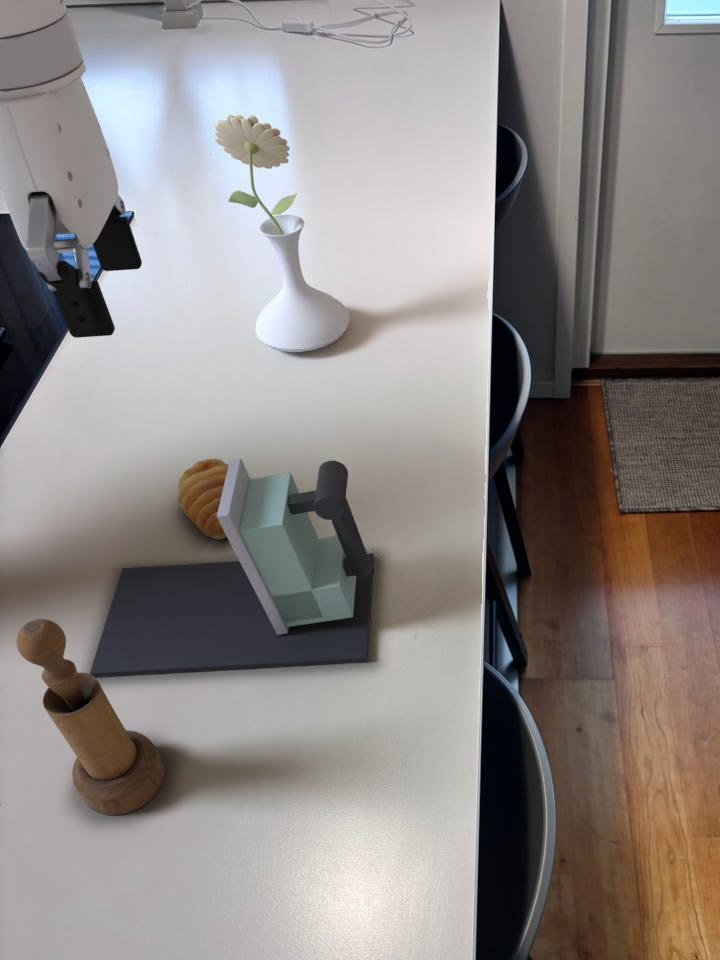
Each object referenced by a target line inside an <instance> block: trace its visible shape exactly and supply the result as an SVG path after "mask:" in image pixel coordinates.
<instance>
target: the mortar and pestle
mask: <svg viewBox="0 0 720 960" xmlns="http://www.w3.org/2000/svg"><path fill="white" fill-rule="evenodd" d="M15 642H16V648H17V651H18V653H19V654H20V656H21V657H22V659H24V660H26V661H27V662H28V663H31V664H34V665H36V666H39V667H41V668H43V671H42V673H41V679H42V681H43V683H44V684H45V685H46V686H47V687H48V688H47V689H46V691H45V692H44V694H43V698H42V706H43V708H44V710H45V711H46V713H47V714H48V716H49V717H50V719H51V721H53V723H54V725H55V726H56V728H57V729H58V730H59V732H60V733H61V735H62V737H63V738H64V740H65V741H66V743H67V744H68V745H69V747H70V748H71V750H72V752H73V753H74V755H75V756H76V759H75V761H74V763H73V767H72V772H71V773H72V782H73V785H74V787H75V789H76V791H77V792H78V794H79V795H80V796H81V798H82V800H83V801H84V803H85V804H86V805H87V806H88V807H89V808H90V809H91V810H92V811H94V812H96V813H97V814H101V815H105V816H119V815H124V814H125V815H126V814H128V813H131V812H135V811H136V810H138V809H140V808H141V807H143V806H144V805H146V804H147V803H149V802H150V801H151V800H152V799H153V798H154V797H155V795H156V794H157V793H158V791H159V790H160V788H161V786H162V785H163V782H164V779H165V764H164V761H163V758H162V757H161V755H160V753H159V752H158V750H157V748H156V746H155V745H154V743H153V742H152V741H151V740H150V738H149V737H148V736H146V735H144V734H142V733H141V732H138V731H135V730H129V729H127V730H126V728H125V727H124V725H123V723H122V721H121V719H120V718H119V717H118V713H117V712H116V711H115V709H114V708H113V706H112V704H111V702H110V700H109V698H108V696H107V694H106V692H105V691H104V689H103V687H102V686H101V684H100V682H99V680H98V679H97V677H94V676H93V675H91V674H90V673H88V672H78V670H77V666H76V664H75V663H74V662H73V660H70V659H68V658H64V656H65V651H66V645H67V637H66V634H65V631H64V629H62V627H61V626H60V625H59V624H58V623H57V622H55V621H53V620H51V619H47V618H35V619H32V620H29V621H27V622H26V623H24V624H23V625H22V626H21V627H20V628H19V630H18V632H17V634H16V641H15Z"/></svg>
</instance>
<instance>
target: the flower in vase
mask: <svg viewBox="0 0 720 960" xmlns="http://www.w3.org/2000/svg"><path fill="white" fill-rule="evenodd" d="M225 118H226V119H224V120H222V119H219V120H217V124H214V127H213V128H214V129H215V130H214V135H215V136H216V137H214V141H215V143H217V145H220V146H221V147H222V150H223V151H224V152H225V153H227V154H230V157H231V158H233V159H234V160H236V161H237V160H238V161H240V162H241V163H242V164H244V165H248V166H249V177H250V178H249V180H250V187H251V191H252V194H253V195H252V194H249V193H247V192H245V191H242V190H235V191H234V192H232V193H231V194H230V196H229V198H228V201H227V202H228V203H234V204H239V205H242V206H245V207H248V208H252V209H255V208H256V207H257V205H258V204H259V205H260V207H261V208H262V210H263V211H264V212H265V213H266V214H267V216H268V218H267V219H265V220H264V221H263V222H261V223H260V225H259V228H258V229H259V231H260V233H261V234H262V235H263V236H264V237H266V239H268V240H269V242H270V243H271V245H272V247H273V248H274V251H275V255H276V257H277V260H278V262H279V266H280V270H281V274H282V287H281V289H280V291H279V293H277V294H276V295H275V296H274V297H273V298H272V299H271V300H270V301H269V302H268V303H267V304H266V305H265V306H264V308H262V310H261V311H260V313H259V314H258V317H257V319H256V322H255V335H256V336H257V338H258V339H259V340H260V341H261V342H262V343H263V344H265V345H266V346H267V347H269V348H271V349H273V350H276V351H279V352H287V353H303V352H309V351H314V350H317V349H320V348H323V347H326V346H329V345H331V344H332V343H334V342H336V341H337V340H339V338H341V337H342V336H343V335H344V333H345V332H346V330H347V328H348V326H349V324H350V320H351V317H350V312H348V309H347V308H346V306H345V305H344V304H343V302H341V301H339V299H337V298H335V297H334V296H332V295H330V293H329V294H328V293H326V292H324V291H322V290H320V289H317V288H314V287H313V286H310V285H309V284H308V283H307V282H306V281H305V277H304V275H303V273H302V268H301V260H300V254H299V253H300V252H299V251H300V250H299V243H300V242H299V241H300V236H301V233H302V231H303V229H304V227H305V220H304V219H303V218H302V217H300V216H297V215H294V214H293V215H292V214H282V213H284V212H286V211H287V210H288V209H289V208H290V207H291V206H292V205H293V203H294V202H295V199H296V197H297V195H298V192H296V193H295V194H292V195H286V196H284V197H281V199H279V200H278V202H277V203H276V205H275V206H274V207H273V209H272V210H271V212H270V210H269V209H268V208H267V207H266V206H265V204H264V203H263V201H262V200H261V199H260V197H259V195H258V194H257V191H256V187H255V181H254V180H255V179H254V169H253V167H255V168H257V169H261V168H265V169H267V170H269V169H270V170H271V169H272V168H273V167H274V168H279V167H280V166H281V164H288V163H289V159H288V157H290V153H289V151H290V150H291V147H290V146H289V145H288V141H287V139H285V138H282V137H281V136H280V135H281V134H282V133H281V131H280V129H279V128H276V127H273V128H272V125H271V124H270V123H268V122H263V123H261V122H259V119H258V117H256V115H249V116H248V117H247V118H245V117H244V116H243V115H241V114H237V113H236V114H235V115H232V114H227V115H226V117H225Z"/></svg>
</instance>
